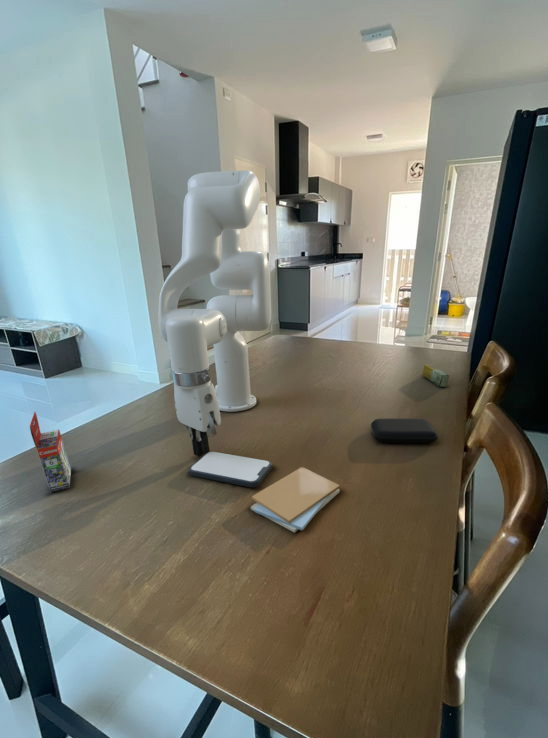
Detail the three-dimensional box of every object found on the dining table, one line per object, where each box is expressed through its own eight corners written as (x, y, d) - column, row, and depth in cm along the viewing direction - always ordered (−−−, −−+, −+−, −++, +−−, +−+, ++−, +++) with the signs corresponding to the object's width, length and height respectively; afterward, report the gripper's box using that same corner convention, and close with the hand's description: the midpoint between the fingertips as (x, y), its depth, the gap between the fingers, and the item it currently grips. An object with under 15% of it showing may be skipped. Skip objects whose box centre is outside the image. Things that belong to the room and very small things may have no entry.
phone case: (187, 476, 79) (256, 490, 74) (186, 469, 79) (255, 483, 73) (210, 456, 87) (274, 467, 81) (209, 449, 86) (273, 460, 81)
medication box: (447, 387, 123) (450, 375, 121) (439, 387, 122) (442, 375, 121) (428, 374, 134) (430, 363, 132) (421, 374, 133) (423, 363, 131)
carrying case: (427, 425, 98) (368, 425, 99) (428, 414, 97) (369, 414, 98) (439, 445, 88) (375, 445, 89) (441, 433, 87) (375, 433, 88)
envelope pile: (245, 509, 69) (244, 501, 68) (296, 471, 79) (296, 464, 79) (297, 538, 62) (297, 529, 61) (346, 492, 72) (346, 484, 72)
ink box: (71, 469, 83) (54, 407, 77) (70, 488, 76) (51, 422, 71) (52, 473, 82) (33, 411, 76) (49, 493, 75) (28, 426, 69)
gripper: (229, 378, 77) (236, 456, 84) (184, 365, 86) (194, 437, 93) (200, 389, 72) (210, 471, 79) (155, 374, 81) (168, 450, 88)
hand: (201, 453), depth 86 cm, fingers closed
